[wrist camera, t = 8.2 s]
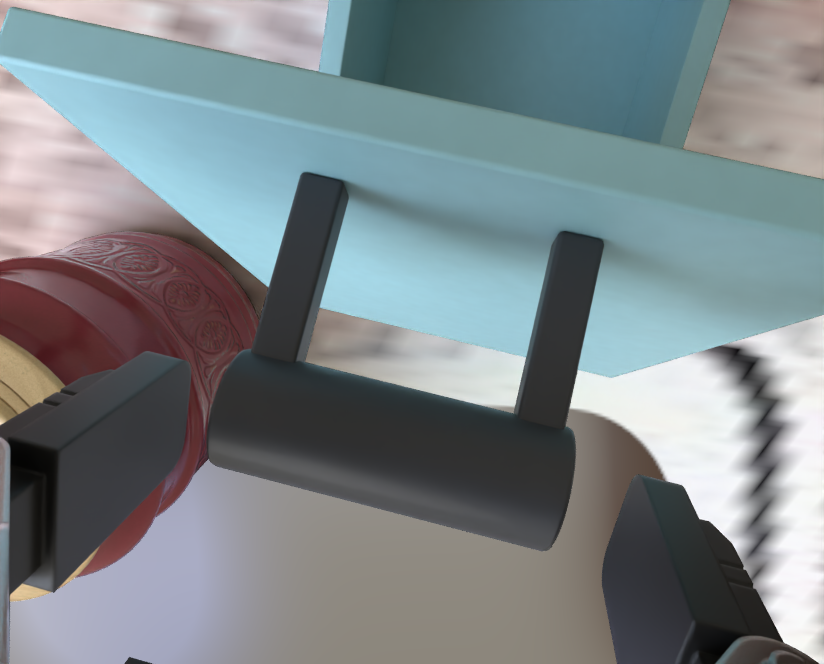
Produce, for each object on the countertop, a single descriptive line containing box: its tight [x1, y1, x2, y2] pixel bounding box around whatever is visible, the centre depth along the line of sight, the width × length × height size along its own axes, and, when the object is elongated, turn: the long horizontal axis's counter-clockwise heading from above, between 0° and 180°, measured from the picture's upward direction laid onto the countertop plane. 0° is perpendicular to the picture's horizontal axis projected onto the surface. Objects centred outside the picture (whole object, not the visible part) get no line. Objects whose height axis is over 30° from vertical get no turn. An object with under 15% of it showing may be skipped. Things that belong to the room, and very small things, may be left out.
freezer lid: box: [0, 7, 824, 551], centre depth 16 cm, size 16×13×5 cm
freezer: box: [319, 0, 731, 149], centre depth 27 cm, size 16×13×9 cm
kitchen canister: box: [0, 231, 259, 601], centre depth 29 cm, size 13×13×18 cm
